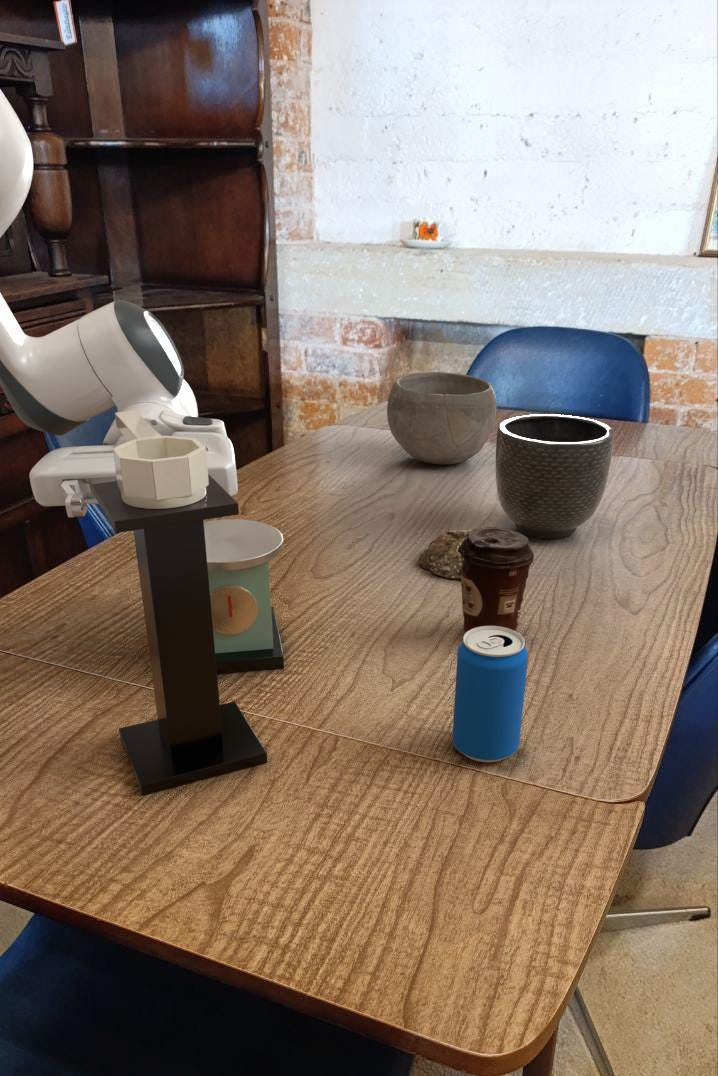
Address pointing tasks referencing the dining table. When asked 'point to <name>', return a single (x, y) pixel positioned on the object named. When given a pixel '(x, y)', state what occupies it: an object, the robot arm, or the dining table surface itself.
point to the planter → (552, 472)
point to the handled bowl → (158, 466)
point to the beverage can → (489, 693)
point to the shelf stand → (180, 647)
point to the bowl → (441, 415)
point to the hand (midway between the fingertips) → (124, 507)
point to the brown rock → (444, 554)
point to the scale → (243, 594)
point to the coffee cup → (493, 577)
